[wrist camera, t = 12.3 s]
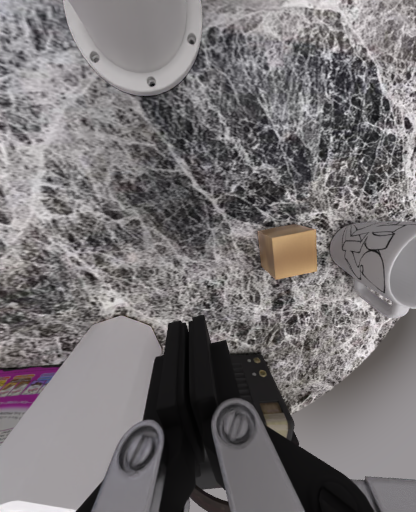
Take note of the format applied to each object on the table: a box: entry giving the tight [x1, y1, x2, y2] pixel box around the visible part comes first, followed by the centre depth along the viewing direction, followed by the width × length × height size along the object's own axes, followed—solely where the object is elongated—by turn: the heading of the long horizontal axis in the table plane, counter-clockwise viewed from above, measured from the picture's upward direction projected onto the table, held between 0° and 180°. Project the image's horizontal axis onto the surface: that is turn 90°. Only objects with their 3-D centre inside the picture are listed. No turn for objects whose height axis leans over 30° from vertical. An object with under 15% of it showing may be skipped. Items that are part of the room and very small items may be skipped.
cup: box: [0, 316, 162, 512], centre depth 21 cm, size 11×11×18 cm
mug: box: [330, 221, 416, 318], centre depth 24 cm, size 11×8×10 cm
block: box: [257, 224, 317, 280], centre depth 25 cm, size 5×5×5 cm
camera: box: [190, 354, 299, 512], centre depth 26 cm, size 11×14×15 cm
